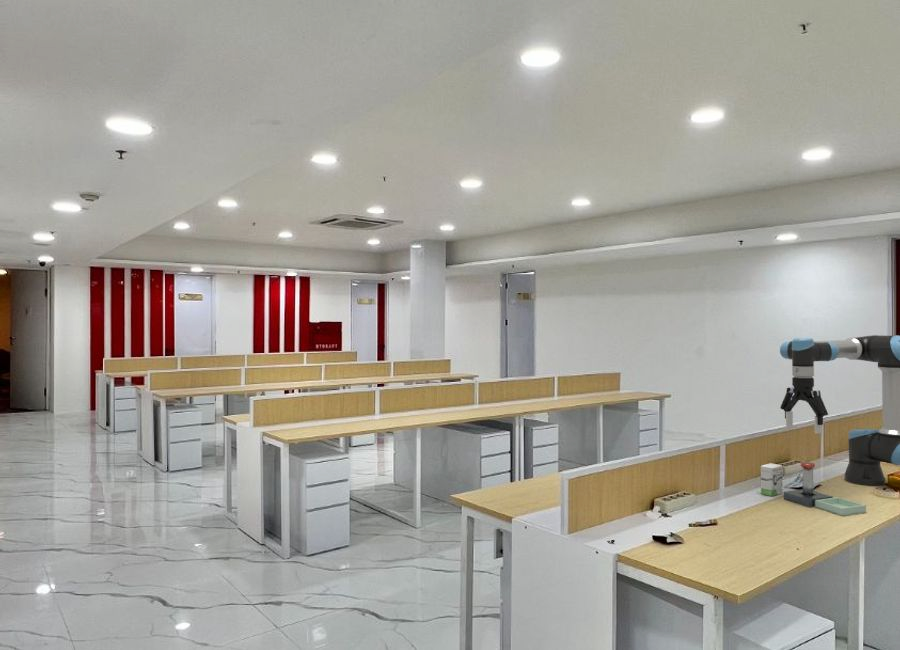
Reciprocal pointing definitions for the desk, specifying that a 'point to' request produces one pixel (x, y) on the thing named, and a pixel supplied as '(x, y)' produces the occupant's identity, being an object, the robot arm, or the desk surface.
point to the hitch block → (804, 497)
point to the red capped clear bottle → (807, 478)
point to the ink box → (771, 479)
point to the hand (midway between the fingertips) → (803, 430)
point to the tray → (840, 506)
